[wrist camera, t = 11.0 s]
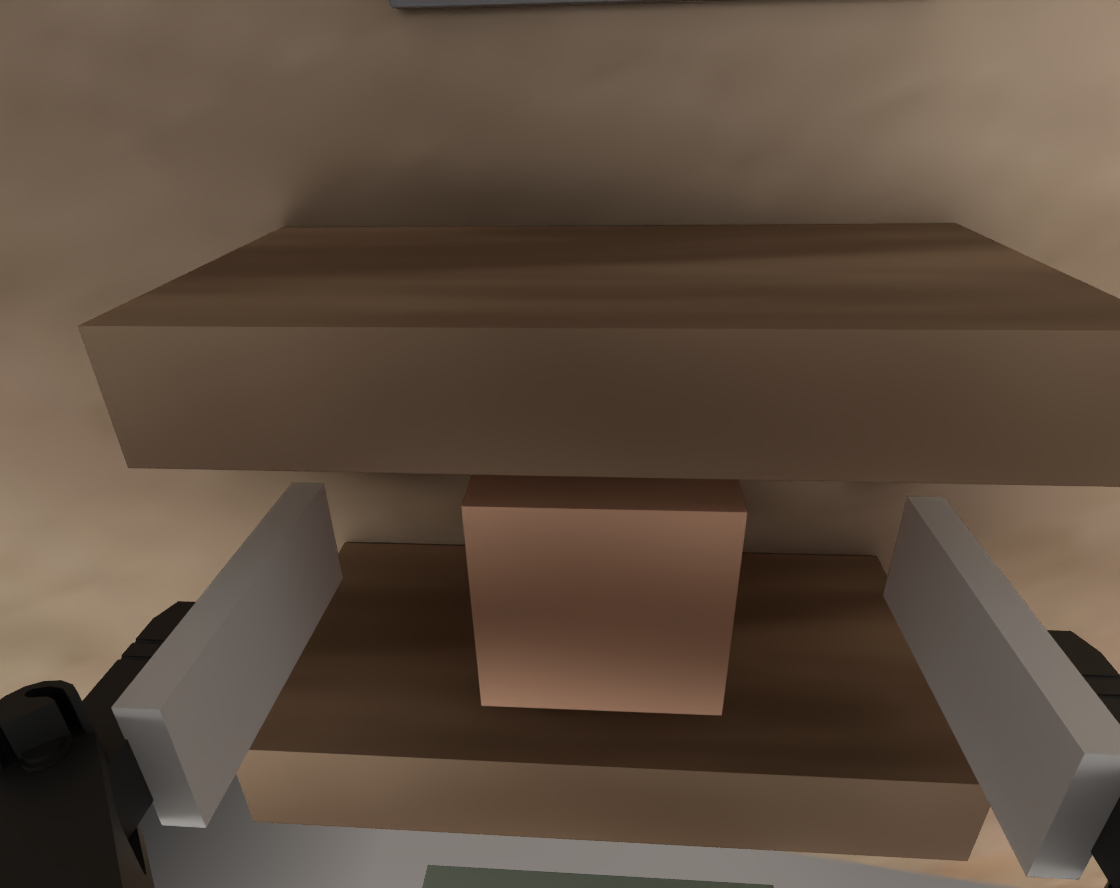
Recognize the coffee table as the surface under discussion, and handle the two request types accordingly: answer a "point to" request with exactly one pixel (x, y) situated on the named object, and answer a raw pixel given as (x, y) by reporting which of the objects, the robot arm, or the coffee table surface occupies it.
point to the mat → (503, 3)
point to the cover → (553, 880)
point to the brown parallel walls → (621, 451)
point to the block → (603, 590)
